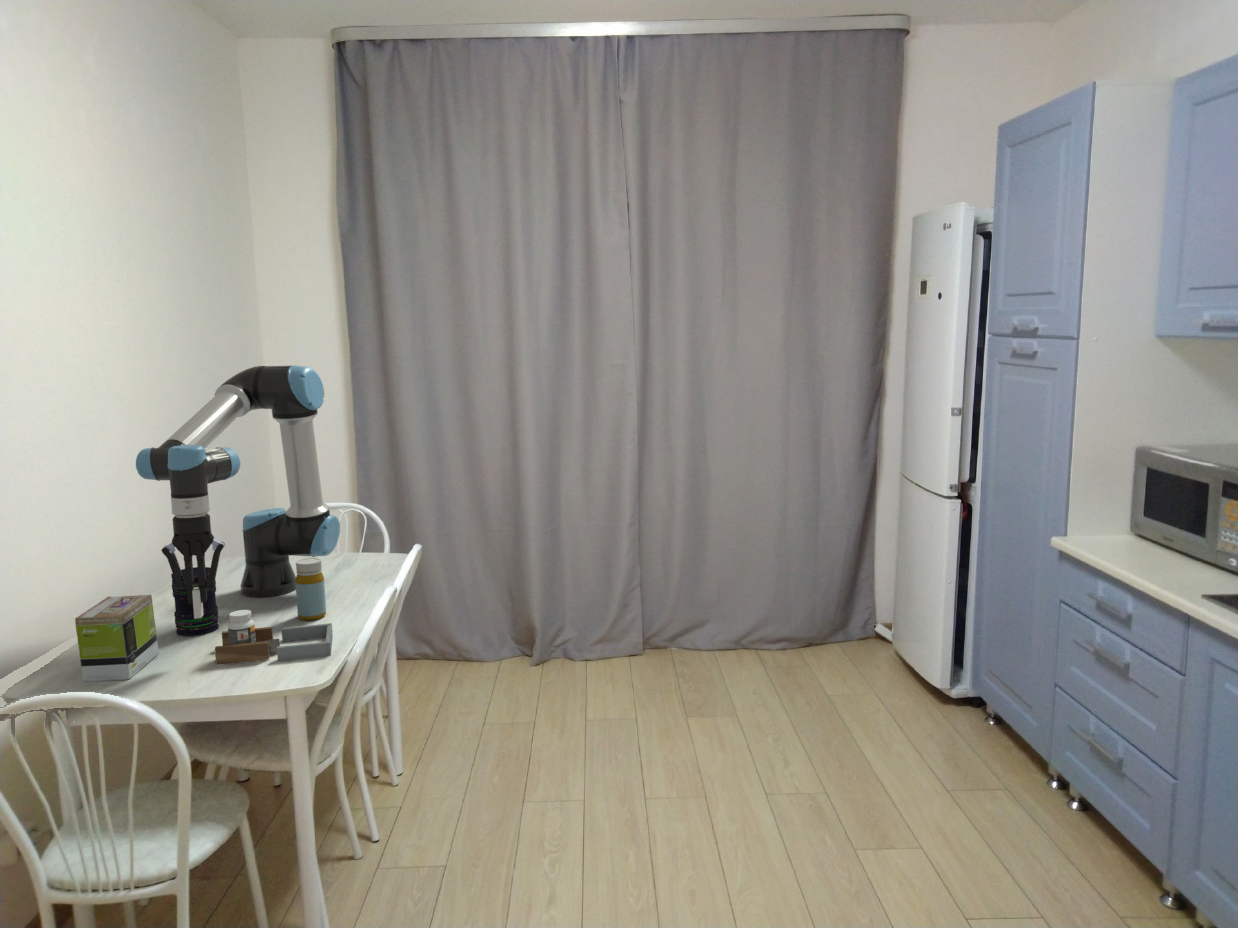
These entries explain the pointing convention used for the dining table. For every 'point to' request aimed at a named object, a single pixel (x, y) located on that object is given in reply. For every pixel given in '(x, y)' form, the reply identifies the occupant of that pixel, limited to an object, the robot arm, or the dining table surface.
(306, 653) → the frame
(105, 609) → the tea box
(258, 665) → the dining table surface
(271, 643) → the grey square block
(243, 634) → the pill bottle
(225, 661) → the slot
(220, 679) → the dining table surface
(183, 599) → the dark blue canister
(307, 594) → the bottle
